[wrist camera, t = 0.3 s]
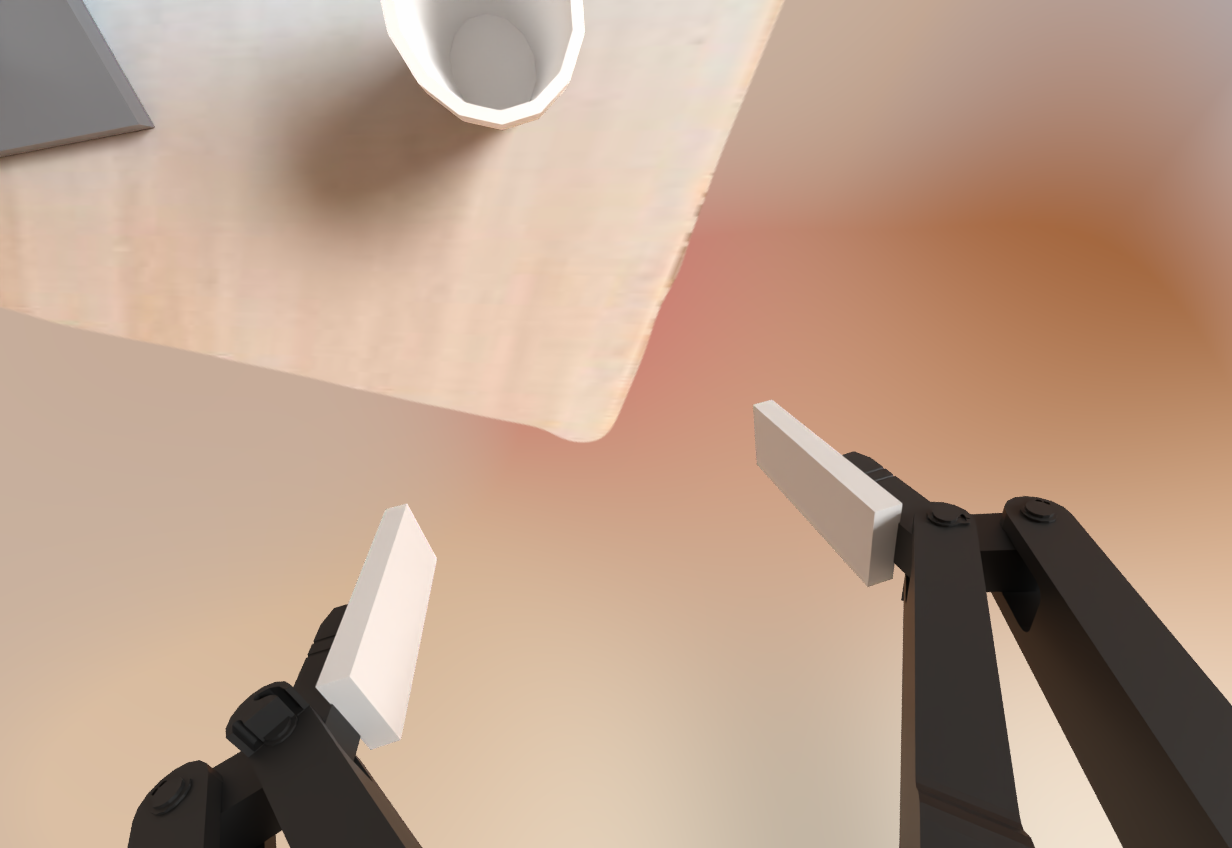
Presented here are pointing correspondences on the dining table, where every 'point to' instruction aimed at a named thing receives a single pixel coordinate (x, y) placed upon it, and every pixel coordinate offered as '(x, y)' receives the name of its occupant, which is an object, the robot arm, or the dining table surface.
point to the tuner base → (59, 79)
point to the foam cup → (489, 54)
